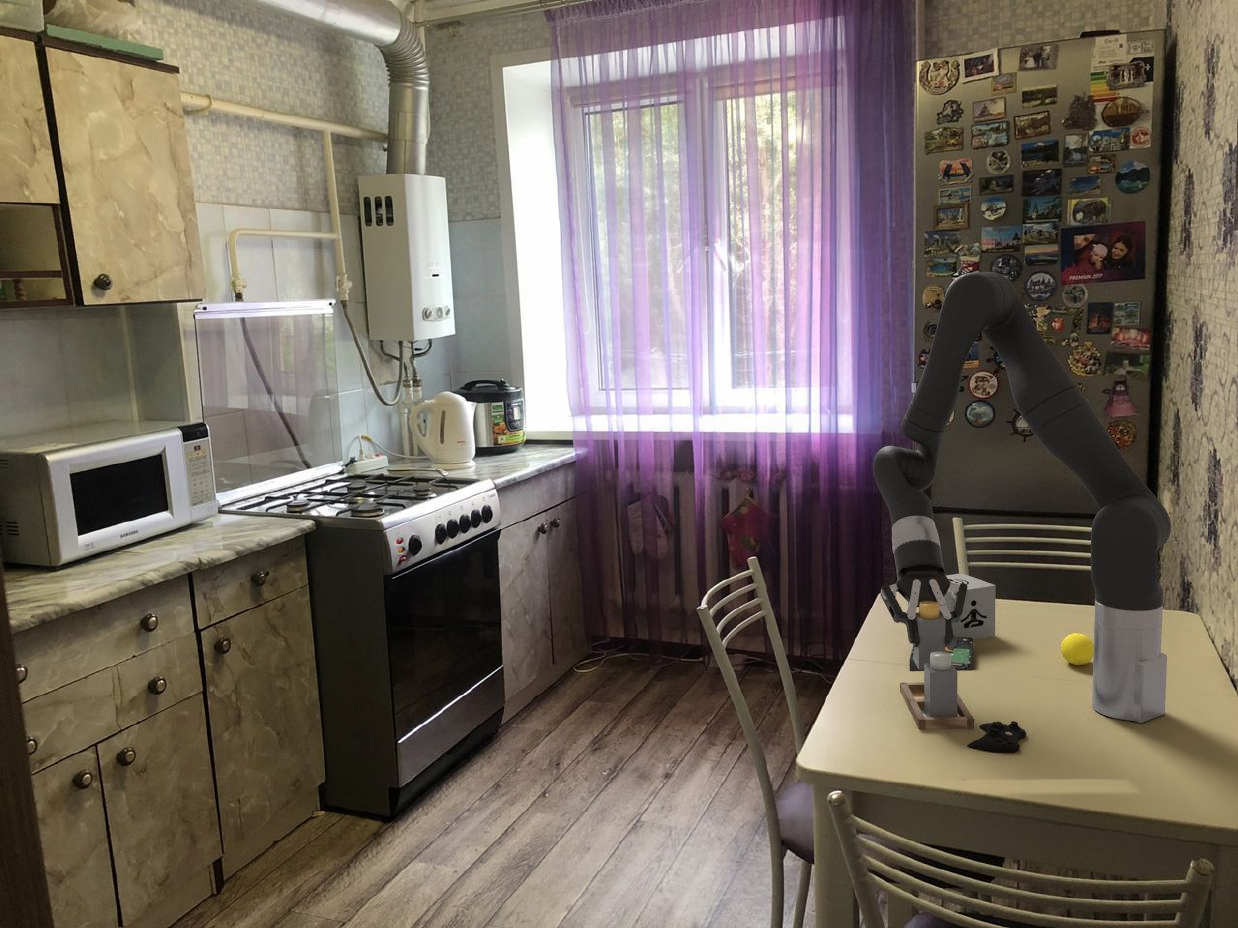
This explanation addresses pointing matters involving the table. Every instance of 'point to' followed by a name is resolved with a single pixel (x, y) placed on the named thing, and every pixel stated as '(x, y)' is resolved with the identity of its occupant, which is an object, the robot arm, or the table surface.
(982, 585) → the icon cube
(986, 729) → the game controller
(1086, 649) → the lemon
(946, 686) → the plug grey
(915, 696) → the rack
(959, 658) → the disk drive
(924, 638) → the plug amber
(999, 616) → the table surface
